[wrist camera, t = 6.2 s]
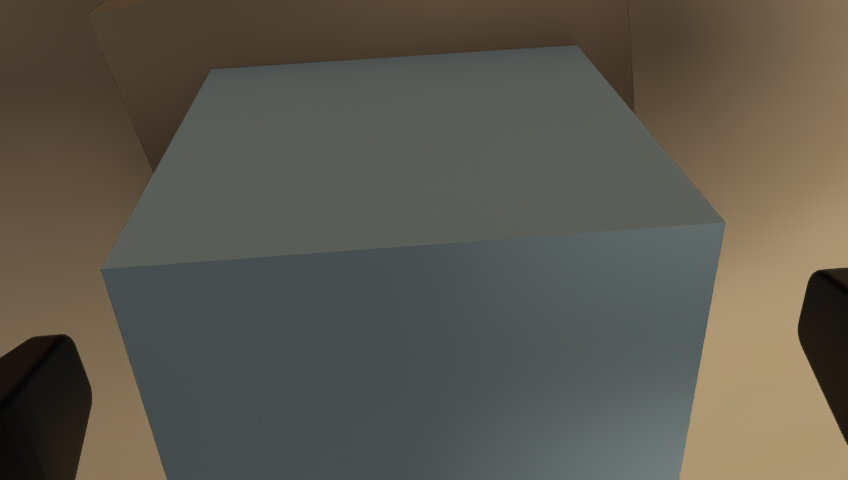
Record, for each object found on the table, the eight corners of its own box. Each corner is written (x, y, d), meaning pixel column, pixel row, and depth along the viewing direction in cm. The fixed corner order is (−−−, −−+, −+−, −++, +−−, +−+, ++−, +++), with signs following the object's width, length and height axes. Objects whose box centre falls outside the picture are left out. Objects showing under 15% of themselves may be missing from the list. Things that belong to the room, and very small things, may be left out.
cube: (560, 333, 13) (657, 601, 9) (267, 357, 13) (218, 641, 9) (576, 44, 10) (724, 222, 6) (211, 69, 10) (101, 269, 6)
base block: (588, 219, 16) (646, 331, 13) (277, 281, 17) (253, 407, 13) (555, -131, 13) (622, -104, 9) (160, -43, 13) (86, 14, 10)
